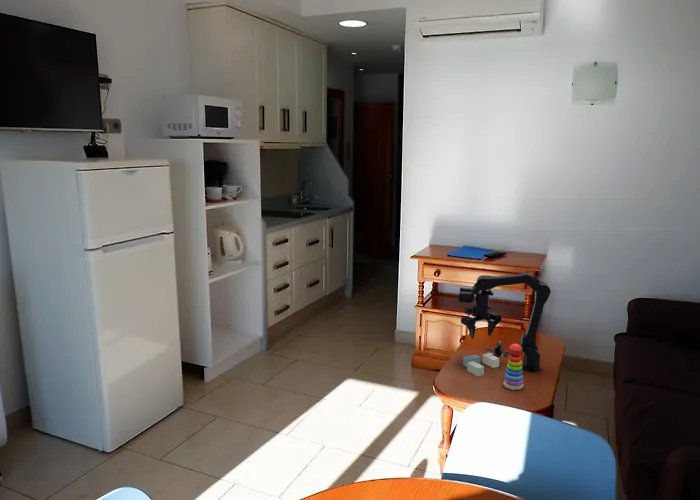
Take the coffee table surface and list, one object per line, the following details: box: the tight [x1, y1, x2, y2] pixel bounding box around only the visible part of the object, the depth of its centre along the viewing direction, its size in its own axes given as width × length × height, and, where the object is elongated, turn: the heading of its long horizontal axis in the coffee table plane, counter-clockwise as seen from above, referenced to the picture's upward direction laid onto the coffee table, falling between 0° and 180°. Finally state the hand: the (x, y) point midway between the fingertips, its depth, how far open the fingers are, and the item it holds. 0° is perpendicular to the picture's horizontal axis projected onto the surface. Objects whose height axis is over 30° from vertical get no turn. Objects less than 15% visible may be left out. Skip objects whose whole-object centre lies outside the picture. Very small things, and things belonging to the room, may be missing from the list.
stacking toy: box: [503, 343, 524, 391], centre depth 222 cm, size 8×8×19 cm
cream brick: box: [482, 352, 500, 369], centre depth 246 cm, size 7×4×4 cm, turn 26°
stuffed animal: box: [484, 341, 510, 359], centre depth 260 cm, size 12×10×12 cm
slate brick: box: [462, 354, 482, 368], centre depth 246 cm, size 7×4×4 cm, turn 116°
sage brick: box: [466, 361, 485, 378], centre depth 237 cm, size 7×4×4 cm, turn 26°
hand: (480, 337), depth 244 cm, fingers open, 9 cm apart
